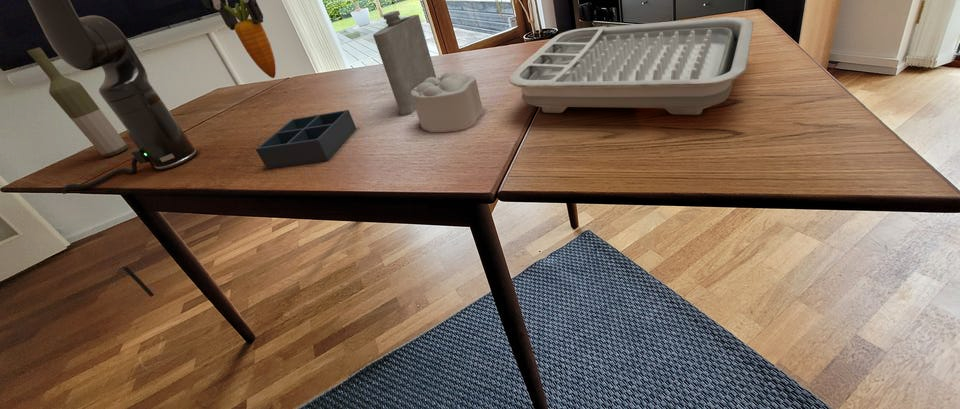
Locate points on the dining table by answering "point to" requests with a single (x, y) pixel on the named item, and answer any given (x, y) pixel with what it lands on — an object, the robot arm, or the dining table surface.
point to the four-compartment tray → (307, 140)
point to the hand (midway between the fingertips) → (247, 25)
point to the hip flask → (404, 57)
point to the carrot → (254, 40)
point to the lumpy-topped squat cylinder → (447, 102)
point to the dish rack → (638, 66)
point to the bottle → (80, 108)
